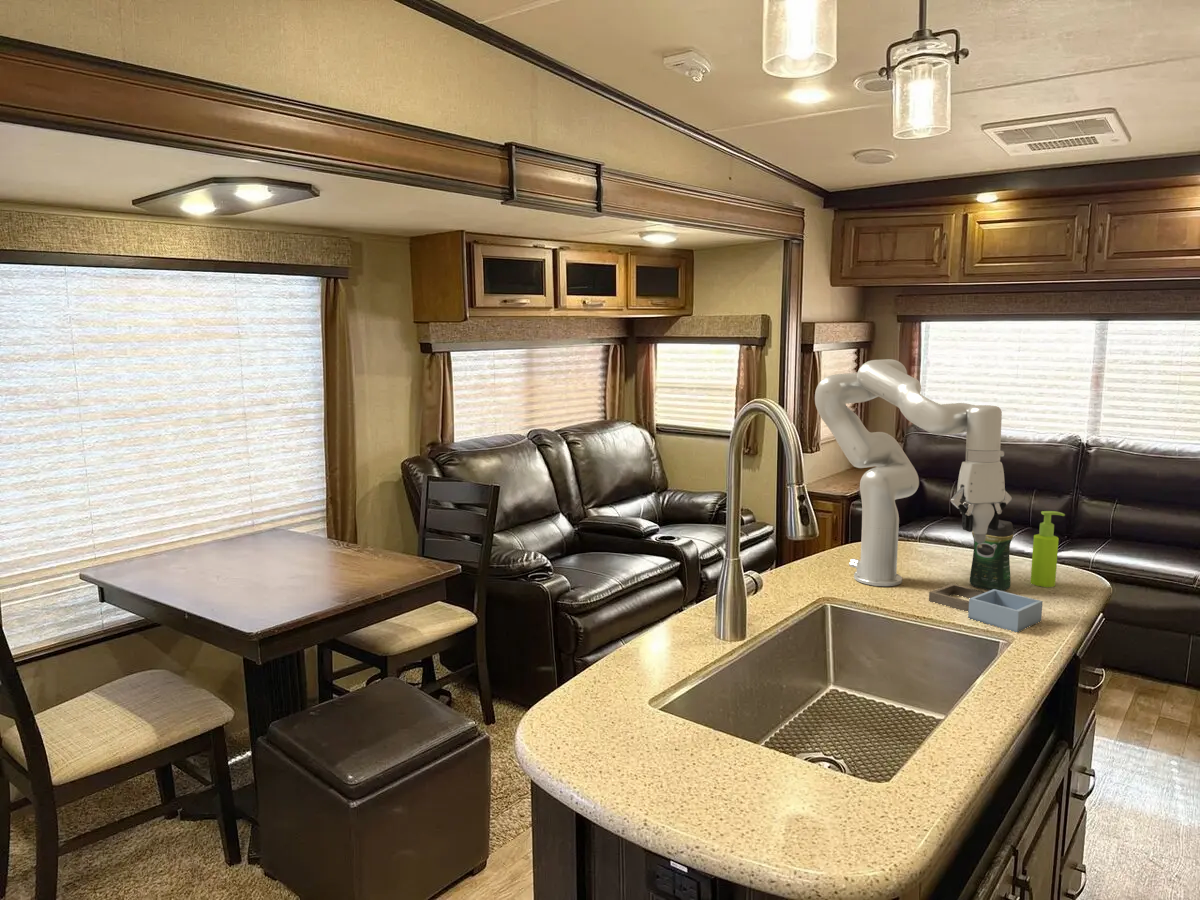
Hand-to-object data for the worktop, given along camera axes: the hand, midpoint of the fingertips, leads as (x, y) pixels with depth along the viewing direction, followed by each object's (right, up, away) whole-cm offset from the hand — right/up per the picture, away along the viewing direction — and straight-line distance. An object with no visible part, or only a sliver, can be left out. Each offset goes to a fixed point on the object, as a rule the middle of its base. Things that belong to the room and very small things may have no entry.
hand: (980, 529), depth 199 cm
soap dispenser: (+28, -17, +21) cm, 39 cm away
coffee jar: (+12, -18, +19) cm, 29 cm away
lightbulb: (0, -4, 0) cm, 4 cm away
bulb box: (+3, -21, -6) cm, 22 cm away
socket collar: (-2, -19, +7) cm, 20 cm away
